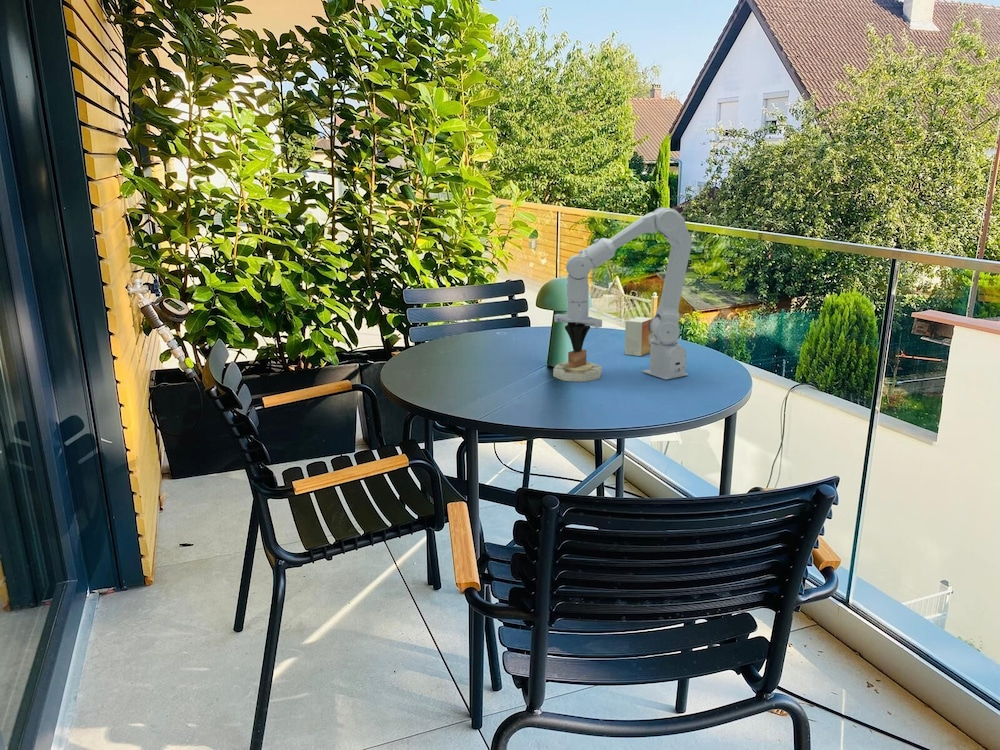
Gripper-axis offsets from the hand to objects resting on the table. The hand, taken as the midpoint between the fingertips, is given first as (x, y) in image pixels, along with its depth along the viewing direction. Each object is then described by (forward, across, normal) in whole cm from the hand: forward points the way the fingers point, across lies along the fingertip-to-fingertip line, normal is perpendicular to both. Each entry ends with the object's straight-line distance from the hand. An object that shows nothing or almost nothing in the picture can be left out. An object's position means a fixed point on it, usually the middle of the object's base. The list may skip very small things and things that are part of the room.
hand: (577, 350), depth 191 cm
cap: (+7, 0, 0) cm, 7 cm away
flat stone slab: (+7, 0, 0) cm, 7 cm away
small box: (+7, 0, +32) cm, 32 cm away
